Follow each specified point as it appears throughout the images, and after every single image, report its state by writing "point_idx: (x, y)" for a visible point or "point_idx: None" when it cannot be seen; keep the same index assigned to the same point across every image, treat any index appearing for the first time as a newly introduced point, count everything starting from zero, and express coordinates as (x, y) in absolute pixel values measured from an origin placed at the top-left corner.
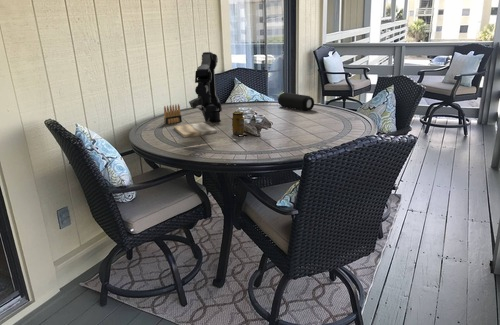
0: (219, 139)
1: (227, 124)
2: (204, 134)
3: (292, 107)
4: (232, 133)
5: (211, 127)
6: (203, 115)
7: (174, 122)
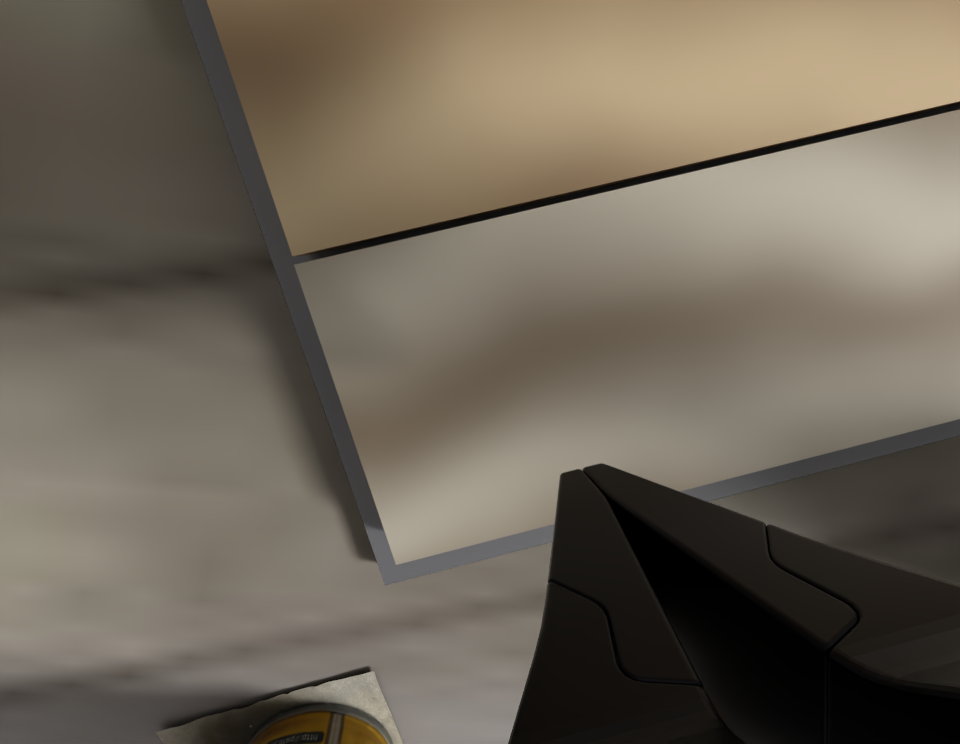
0: (97, 528)
1: None
2: None
3: None
4: (379, 703)
5: None
6: (733, 530)
7: None
